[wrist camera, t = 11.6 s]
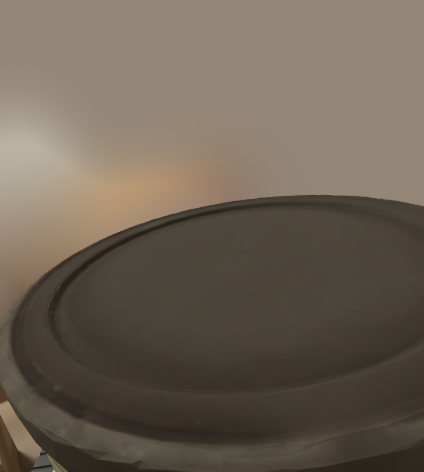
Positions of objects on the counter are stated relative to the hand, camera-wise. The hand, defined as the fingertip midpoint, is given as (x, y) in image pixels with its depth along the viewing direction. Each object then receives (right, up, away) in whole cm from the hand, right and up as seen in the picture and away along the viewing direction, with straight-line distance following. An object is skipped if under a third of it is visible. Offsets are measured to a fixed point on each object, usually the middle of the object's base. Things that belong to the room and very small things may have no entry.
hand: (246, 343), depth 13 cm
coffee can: (+1, -9, -2) cm, 9 cm away
